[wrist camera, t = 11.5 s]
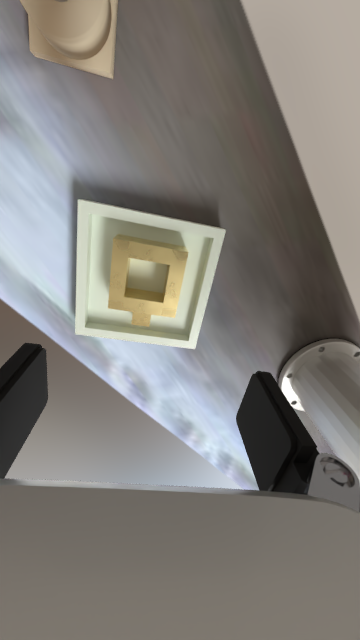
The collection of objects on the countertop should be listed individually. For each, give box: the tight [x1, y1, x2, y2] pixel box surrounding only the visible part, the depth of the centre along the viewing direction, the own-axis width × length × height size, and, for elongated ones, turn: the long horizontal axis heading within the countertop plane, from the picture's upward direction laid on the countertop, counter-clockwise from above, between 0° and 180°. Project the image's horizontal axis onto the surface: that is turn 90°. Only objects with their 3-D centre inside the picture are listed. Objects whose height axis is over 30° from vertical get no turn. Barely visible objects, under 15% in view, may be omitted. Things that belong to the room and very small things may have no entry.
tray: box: [75, 199, 226, 349], centre depth 27 cm, size 14×14×2 cm
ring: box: [108, 234, 189, 327], centre depth 26 cm, size 7×9×3 cm
